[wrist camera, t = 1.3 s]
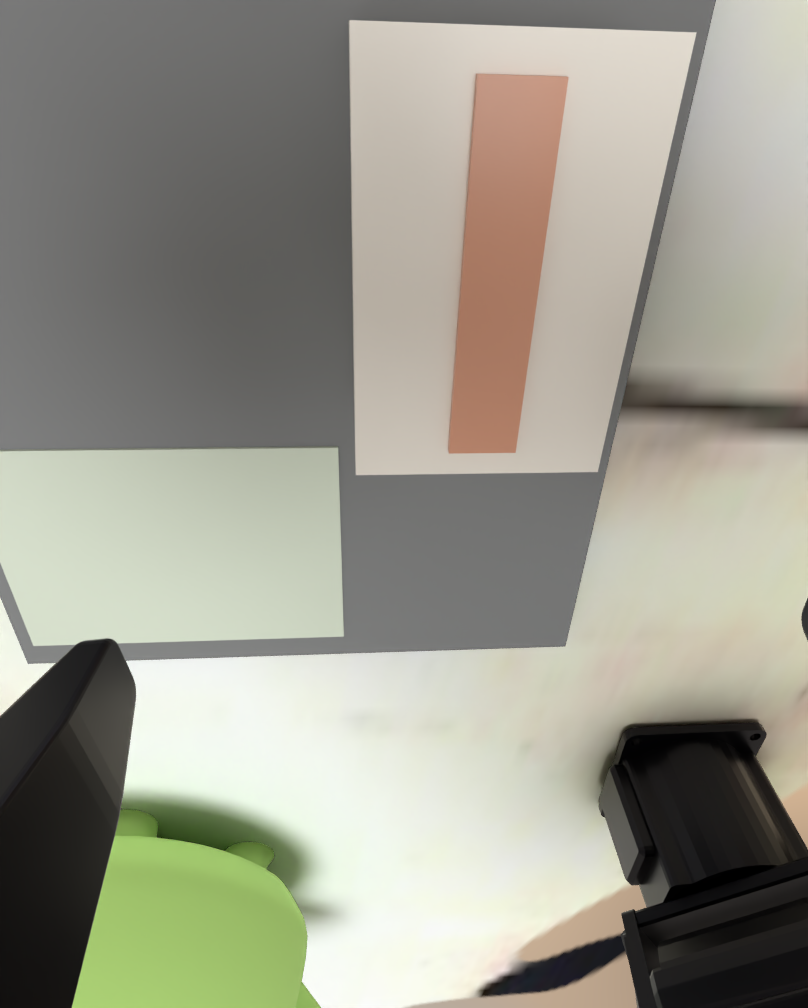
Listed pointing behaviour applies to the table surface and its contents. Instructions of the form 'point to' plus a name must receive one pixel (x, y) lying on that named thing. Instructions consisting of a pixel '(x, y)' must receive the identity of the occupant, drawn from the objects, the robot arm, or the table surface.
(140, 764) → the table surface
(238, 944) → the teapot
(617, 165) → the box
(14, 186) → the mat
